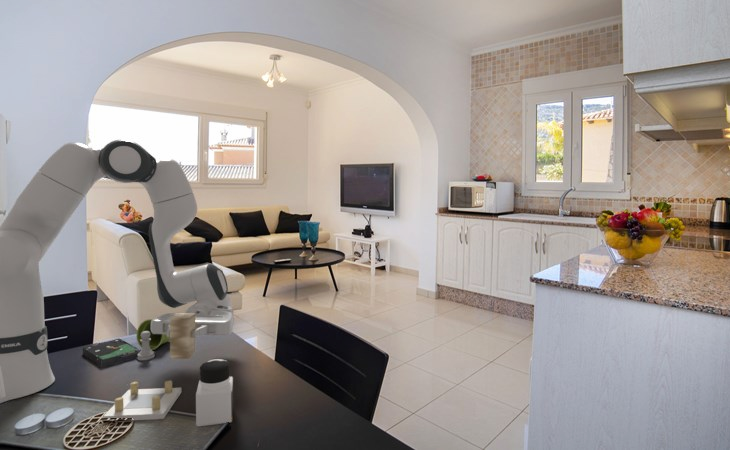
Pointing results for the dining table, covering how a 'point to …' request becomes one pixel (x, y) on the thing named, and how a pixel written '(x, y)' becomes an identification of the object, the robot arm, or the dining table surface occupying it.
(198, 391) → the medicine bottle
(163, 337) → the plant pot
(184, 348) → the maple block
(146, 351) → the chess piece
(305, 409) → the dining table surface
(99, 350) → the disk drive
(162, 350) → the dining table surface
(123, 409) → the white pegged board
